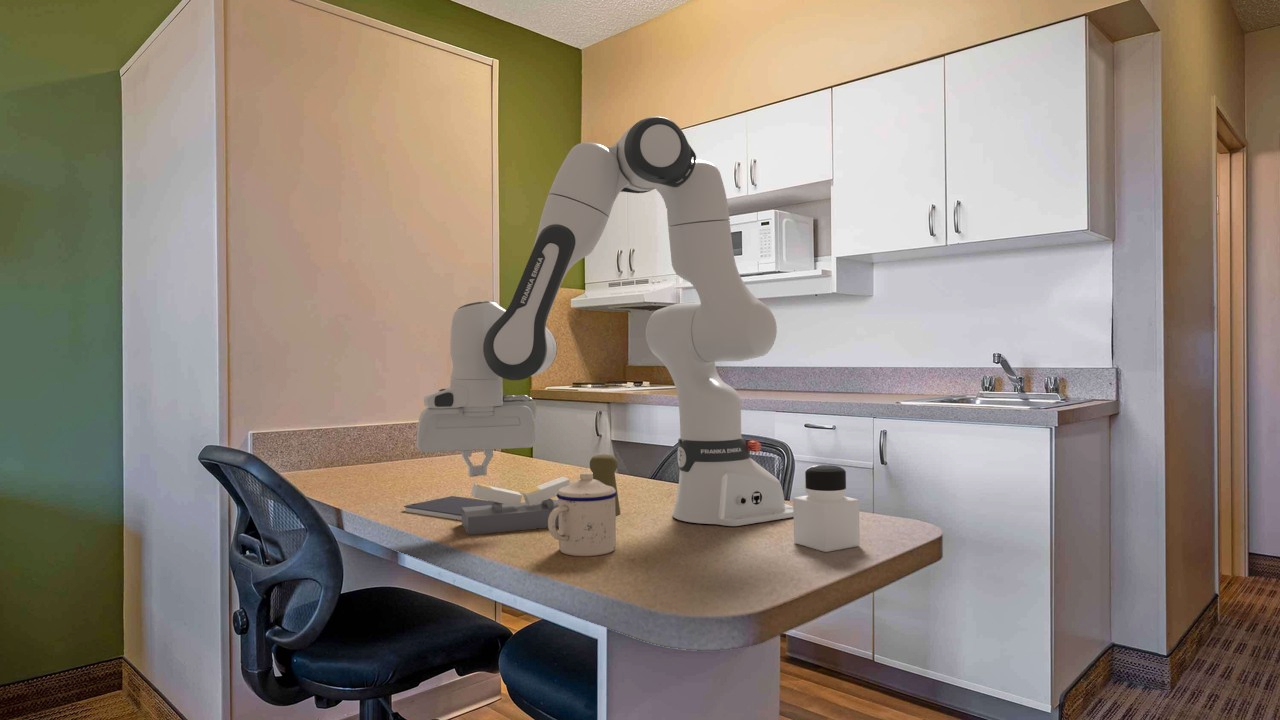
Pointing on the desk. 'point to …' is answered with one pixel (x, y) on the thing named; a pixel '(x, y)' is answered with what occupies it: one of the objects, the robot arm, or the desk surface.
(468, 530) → the power strip
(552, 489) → the rocker
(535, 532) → the desk surface
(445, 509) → the notebook
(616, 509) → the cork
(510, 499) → the rocker
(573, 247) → the robot arm
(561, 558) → the desk surface
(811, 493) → the medicine bottle
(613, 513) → the teacup with lid
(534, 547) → the desk surface
